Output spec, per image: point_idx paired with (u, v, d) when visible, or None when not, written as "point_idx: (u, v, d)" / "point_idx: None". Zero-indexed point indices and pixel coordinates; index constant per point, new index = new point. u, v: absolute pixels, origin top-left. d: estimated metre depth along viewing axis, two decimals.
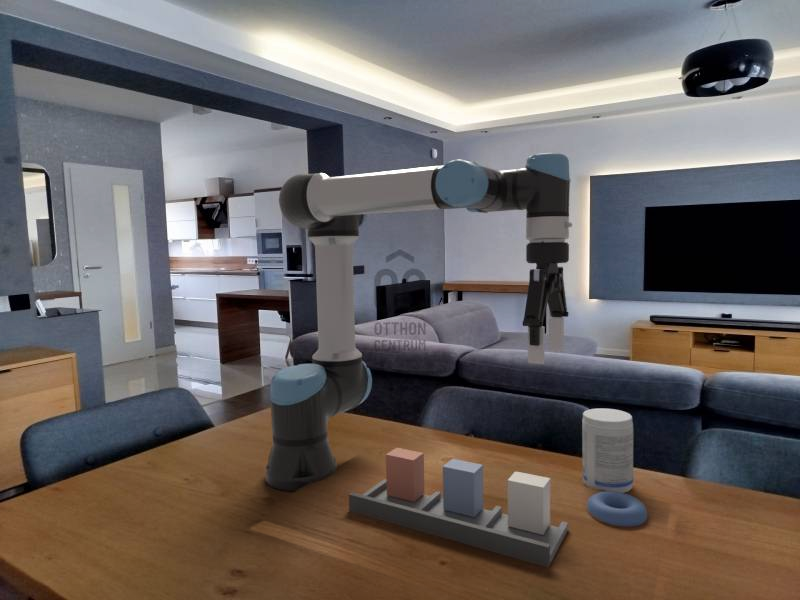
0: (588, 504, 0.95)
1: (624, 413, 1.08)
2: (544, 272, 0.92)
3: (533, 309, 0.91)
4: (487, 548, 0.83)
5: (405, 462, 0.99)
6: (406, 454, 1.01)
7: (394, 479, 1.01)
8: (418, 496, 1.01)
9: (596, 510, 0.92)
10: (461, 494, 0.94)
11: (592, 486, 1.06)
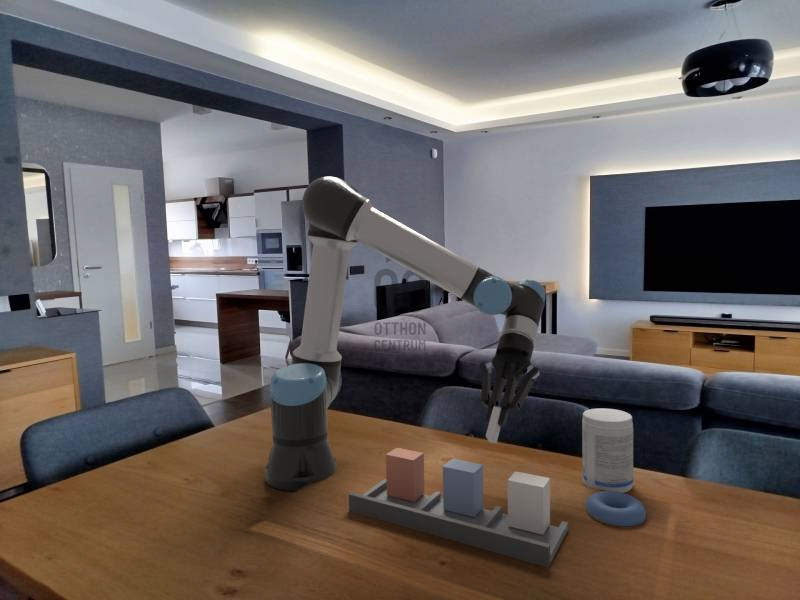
0: (587, 504, 0.95)
1: (624, 413, 1.08)
2: None
3: (522, 400, 1.08)
4: (487, 548, 0.83)
5: (405, 462, 0.99)
6: (406, 454, 1.01)
7: (394, 479, 1.01)
8: (418, 496, 1.01)
9: (595, 510, 0.92)
10: (461, 494, 0.94)
11: (592, 486, 1.06)
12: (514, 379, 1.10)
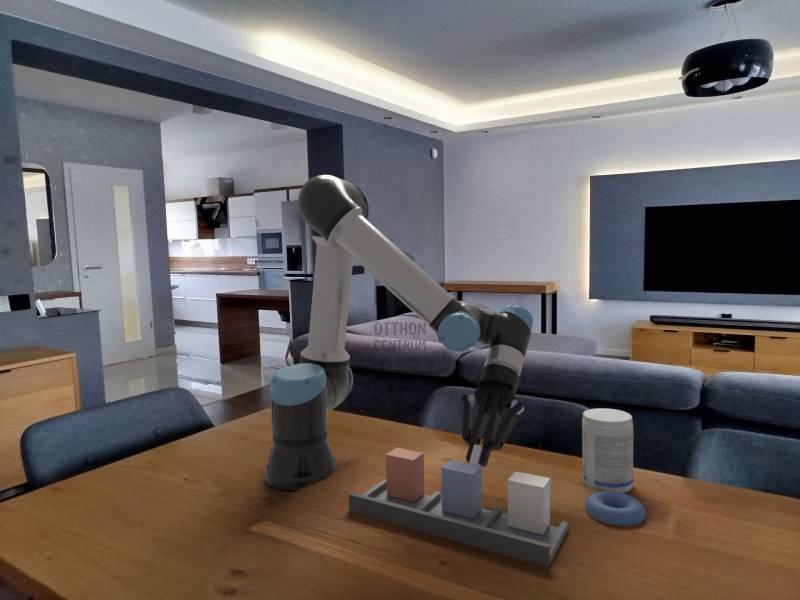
0: (586, 504, 0.95)
1: (624, 413, 1.08)
2: None
3: (504, 438, 1.01)
4: (487, 548, 0.83)
5: (405, 462, 0.99)
6: (406, 454, 1.01)
7: (394, 479, 1.01)
8: (418, 496, 1.01)
9: (594, 510, 0.92)
10: (460, 495, 0.93)
11: (592, 486, 1.06)
12: (497, 415, 1.04)
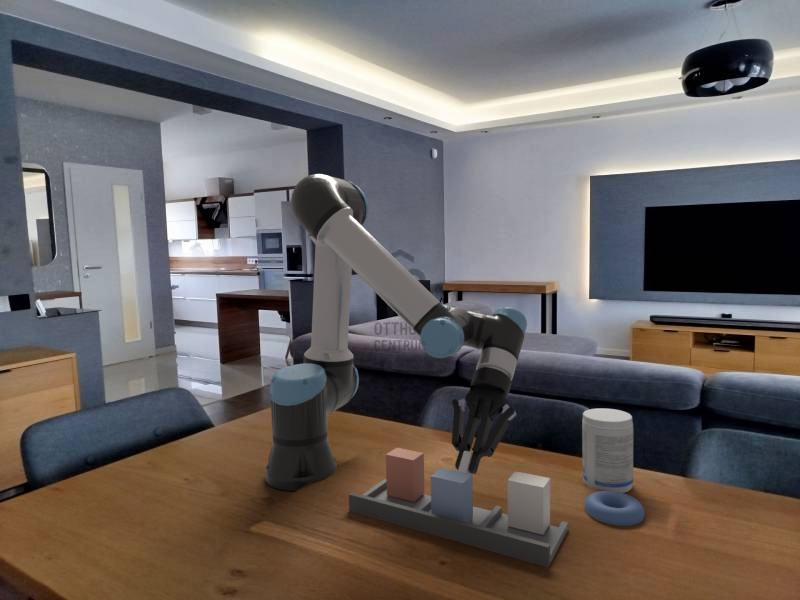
0: (585, 503, 0.95)
1: (624, 413, 1.08)
2: None
3: (495, 444, 0.98)
4: (487, 548, 0.83)
5: (405, 462, 0.99)
6: (406, 454, 1.01)
7: (394, 479, 1.01)
8: (418, 496, 1.01)
9: (593, 509, 0.93)
10: (450, 505, 0.90)
11: (592, 486, 1.06)
12: (488, 420, 1.00)
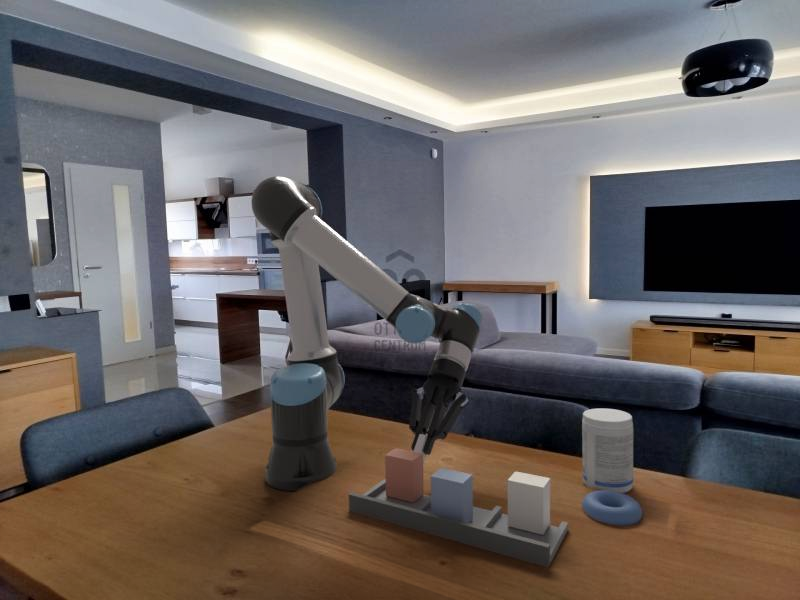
0: (583, 503, 0.95)
1: (624, 413, 1.08)
2: None
3: (448, 428, 1.07)
4: (487, 548, 0.83)
5: (405, 463, 0.99)
6: (405, 455, 1.01)
7: (394, 479, 1.01)
8: (417, 497, 1.00)
9: (591, 509, 0.93)
10: (450, 505, 0.90)
11: (592, 486, 1.06)
12: (442, 406, 1.10)
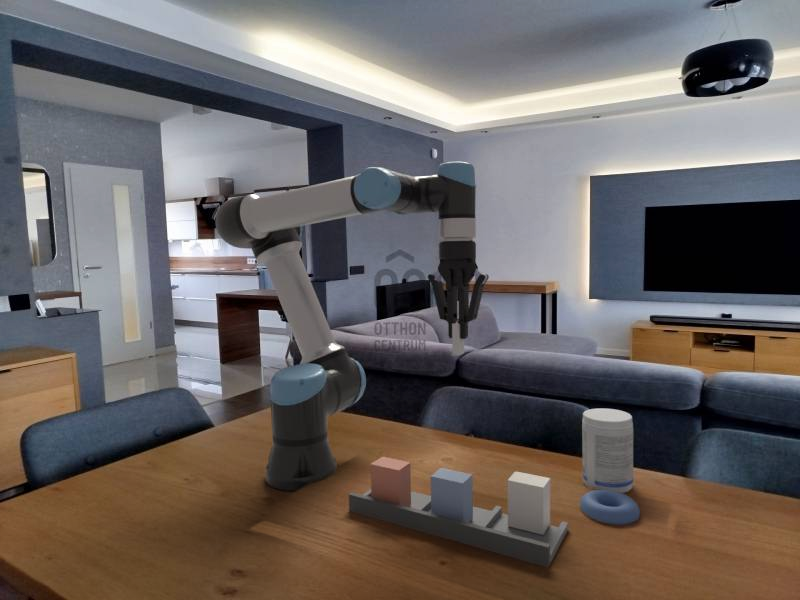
0: (581, 502, 0.96)
1: (624, 413, 1.08)
2: None
3: (476, 309, 1.09)
4: (487, 548, 0.83)
5: (391, 472, 0.95)
6: (392, 464, 0.97)
7: (379, 489, 0.96)
8: None
9: (589, 508, 0.93)
10: (450, 505, 0.90)
11: (592, 486, 1.06)
12: (464, 290, 1.09)
